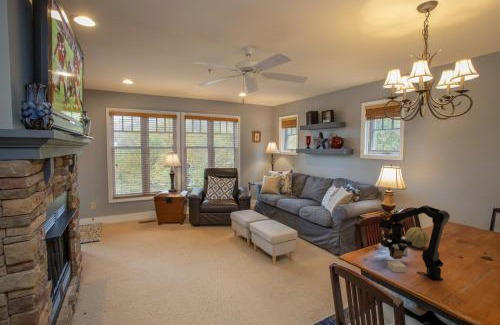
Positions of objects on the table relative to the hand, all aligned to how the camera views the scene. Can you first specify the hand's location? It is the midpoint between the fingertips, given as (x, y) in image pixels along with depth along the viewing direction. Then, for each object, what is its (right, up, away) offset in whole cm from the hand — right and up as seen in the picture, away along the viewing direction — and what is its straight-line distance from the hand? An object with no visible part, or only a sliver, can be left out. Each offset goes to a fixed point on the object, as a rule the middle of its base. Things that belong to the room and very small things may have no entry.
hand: (395, 255), depth 165 cm
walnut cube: (0, -1, 0) cm, 1 cm away
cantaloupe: (+30, -2, +24) cm, 38 cm away
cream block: (-5, -5, -9) cm, 12 cm away
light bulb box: (+12, -3, +15) cm, 20 cm away
